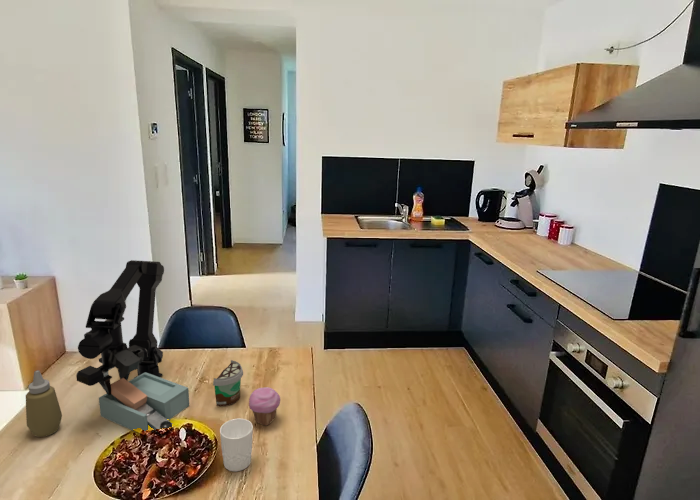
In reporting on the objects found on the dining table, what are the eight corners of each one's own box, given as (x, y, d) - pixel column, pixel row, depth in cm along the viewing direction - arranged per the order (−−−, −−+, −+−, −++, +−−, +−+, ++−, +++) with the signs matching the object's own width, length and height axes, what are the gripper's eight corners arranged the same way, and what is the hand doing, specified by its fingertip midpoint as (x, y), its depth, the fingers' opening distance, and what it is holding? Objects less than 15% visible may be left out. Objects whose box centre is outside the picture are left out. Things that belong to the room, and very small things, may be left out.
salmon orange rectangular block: (108, 391, 129) (109, 384, 128) (122, 384, 133) (123, 377, 132) (133, 410, 126) (134, 403, 125) (146, 402, 129) (147, 395, 128)
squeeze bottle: (70, 425, 126) (62, 367, 121) (43, 443, 118) (33, 382, 114) (49, 418, 128) (40, 361, 123) (21, 436, 121) (10, 375, 116)
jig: (100, 416, 130) (98, 397, 128) (146, 389, 144) (145, 372, 142) (145, 436, 123) (143, 416, 121) (189, 405, 136) (188, 387, 135)
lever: (115, 399, 128) (116, 395, 128) (127, 392, 132) (128, 388, 131) (163, 437, 122) (164, 432, 122) (174, 428, 126) (175, 424, 125)
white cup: (224, 451, 118) (223, 418, 115) (255, 451, 119) (254, 417, 116) (218, 474, 110) (217, 439, 108) (251, 473, 111) (250, 438, 108)
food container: (233, 412, 134) (232, 382, 132) (214, 409, 135) (212, 379, 133) (250, 389, 146) (249, 361, 143) (232, 386, 147) (231, 359, 144)
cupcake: (270, 433, 126) (269, 402, 123) (243, 425, 128) (242, 394, 126) (285, 415, 134) (285, 385, 131) (259, 408, 136) (259, 379, 134)
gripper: (100, 363, 115) (106, 416, 119) (159, 334, 131) (162, 382, 135) (71, 352, 120) (78, 404, 124) (132, 326, 136) (136, 373, 140)
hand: (116, 390), depth 131 cm, fingers closed on salmon orange rectangular block, 4 cm apart
